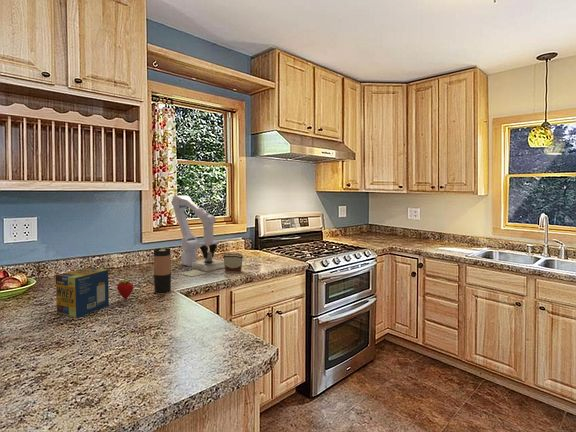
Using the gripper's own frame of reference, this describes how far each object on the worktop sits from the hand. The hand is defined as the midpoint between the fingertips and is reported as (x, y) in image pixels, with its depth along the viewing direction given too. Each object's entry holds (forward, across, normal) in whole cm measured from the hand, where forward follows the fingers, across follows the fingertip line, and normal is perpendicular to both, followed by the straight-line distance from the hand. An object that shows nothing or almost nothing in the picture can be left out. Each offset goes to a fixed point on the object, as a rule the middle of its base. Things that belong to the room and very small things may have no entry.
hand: (208, 257), depth 214 cm
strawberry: (+7, -62, -20) cm, 65 cm away
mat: (+6, -15, -5) cm, 17 cm away
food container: (+7, +5, -17) cm, 19 cm away
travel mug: (+7, -45, -22) cm, 50 cm away
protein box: (+7, -79, -20) cm, 82 cm away
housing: (+6, 0, 0) cm, 6 cm away
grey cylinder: (+5, 0, 0) cm, 5 cm away
